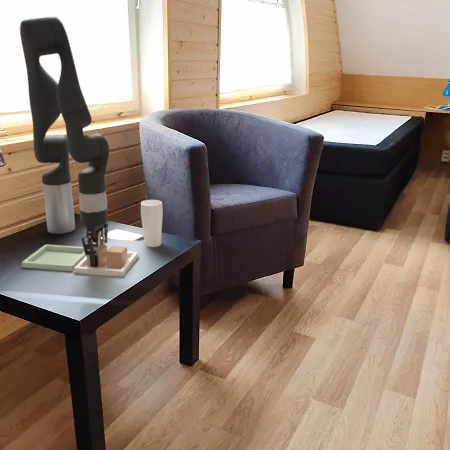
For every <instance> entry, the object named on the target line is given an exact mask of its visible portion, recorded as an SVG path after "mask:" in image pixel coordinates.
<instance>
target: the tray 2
mask: <svg viewBox="0 0 450 450" xmlns="http://www.w3.org/2000/svg"><path fill="white" fill-rule="evenodd" d="M138 258H139V251H130V250H129V251H128V250H127V259H128V261H127V262H126V264H125V265H124V266H123V267H122V268H121V269H117V268H107V263H106V264H105V265H104V266H103V267H90V266H87V256H86V257H85V258H84V259H83V260H82V261H81V262H80V263H79V264H78V265H77V266H75V267H74V270H73V272H74V274H86V275H99V276H111V277H123V278H124V276H125V275H126V274H127V272H128V271H129V270H130V268H131V267H132V266H133V265H134V263H135V262H136V261H137V259H138Z"/></svg>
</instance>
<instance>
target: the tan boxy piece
mask: <svg viewBox="0 0 450 450" xmlns="http://www.w3.org/2000/svg"><path fill="white" fill-rule="evenodd" d="M94 250H95V247H94ZM107 250H108V245H106V244H105V245H100V246H99V247H98V266H97V267H103V266H104V265H105V264H106V263H107V254H106V251H107ZM86 256H87V266H90V257H89V255H86ZM90 267H91V266H90Z"/></svg>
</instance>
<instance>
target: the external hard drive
mask: <svg viewBox="0 0 450 450" xmlns="http://www.w3.org/2000/svg"><path fill="white" fill-rule="evenodd" d="M141 239H142V240H144V234H143V235H142V234H138V233H135V232H131V231H126V230H123V229H117V228H116V229H113V230H110V231H108V236H107V240H122V241H123V240H124V241H135V242H136V241H137V242H139V241H142V240H141Z"/></svg>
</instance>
